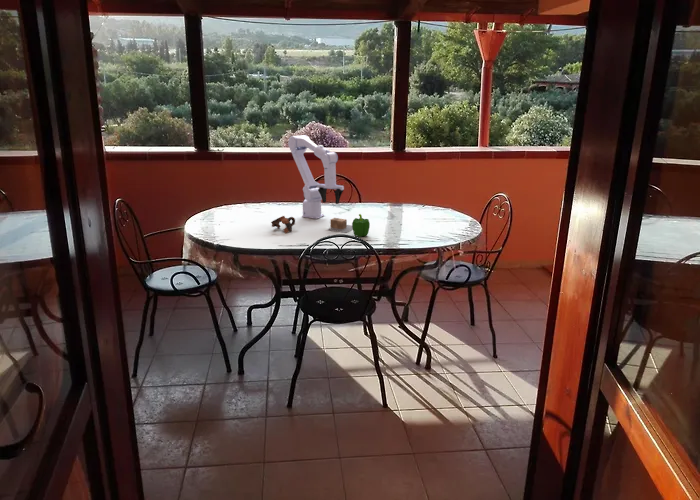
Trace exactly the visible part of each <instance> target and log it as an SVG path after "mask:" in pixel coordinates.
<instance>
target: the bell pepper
mask: <svg viewBox="0 0 700 500" xmlns="http://www.w3.org/2000/svg"><path fill="white" fill-rule="evenodd" d="M358 216H359V218H357V217H355V218H354V219H353V221H352V222H351V225H352V228H353V230H352V231H353V234H354V236H355V237H367V236H368V234H369V230H370V226H371V225H370V220H369V219H368V218H363V216H362V214H361V213H359V214H358Z"/></svg>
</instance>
